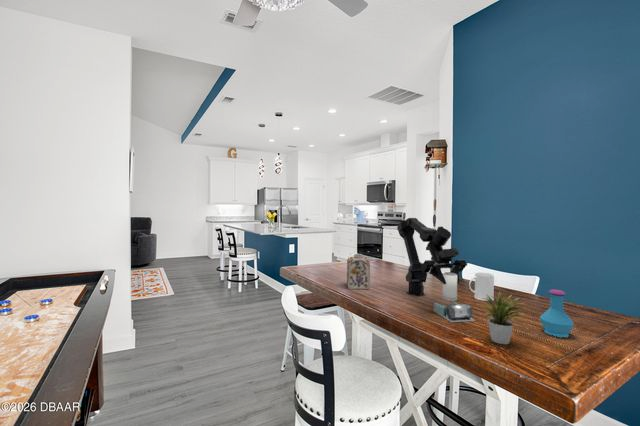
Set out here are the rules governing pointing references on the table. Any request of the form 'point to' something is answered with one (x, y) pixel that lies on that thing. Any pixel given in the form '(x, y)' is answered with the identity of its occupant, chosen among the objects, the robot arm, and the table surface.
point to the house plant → (501, 319)
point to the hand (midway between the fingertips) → (451, 283)
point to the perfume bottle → (556, 316)
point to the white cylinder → (450, 286)
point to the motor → (454, 312)
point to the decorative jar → (358, 272)
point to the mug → (483, 286)
